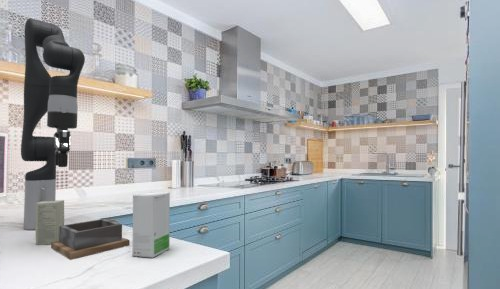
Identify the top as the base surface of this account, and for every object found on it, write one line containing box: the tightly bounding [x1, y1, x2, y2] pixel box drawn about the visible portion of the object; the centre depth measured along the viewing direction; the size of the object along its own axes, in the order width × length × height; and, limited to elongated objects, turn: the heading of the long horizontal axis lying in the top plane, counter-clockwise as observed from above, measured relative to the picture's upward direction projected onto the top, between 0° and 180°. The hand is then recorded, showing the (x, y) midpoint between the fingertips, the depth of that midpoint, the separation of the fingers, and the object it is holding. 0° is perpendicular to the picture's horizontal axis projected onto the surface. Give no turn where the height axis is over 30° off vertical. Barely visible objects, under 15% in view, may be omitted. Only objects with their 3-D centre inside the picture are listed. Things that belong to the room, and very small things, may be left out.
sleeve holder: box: [50, 218, 130, 260], centre depth 81 cm, size 15×15×6 cm
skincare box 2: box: [131, 191, 171, 259], centre depth 76 cm, size 8×7×16 cm
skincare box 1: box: [35, 199, 65, 246], centre depth 86 cm, size 6×4×12 cm
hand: (61, 166), depth 86 cm, fingers open, 8 cm apart
